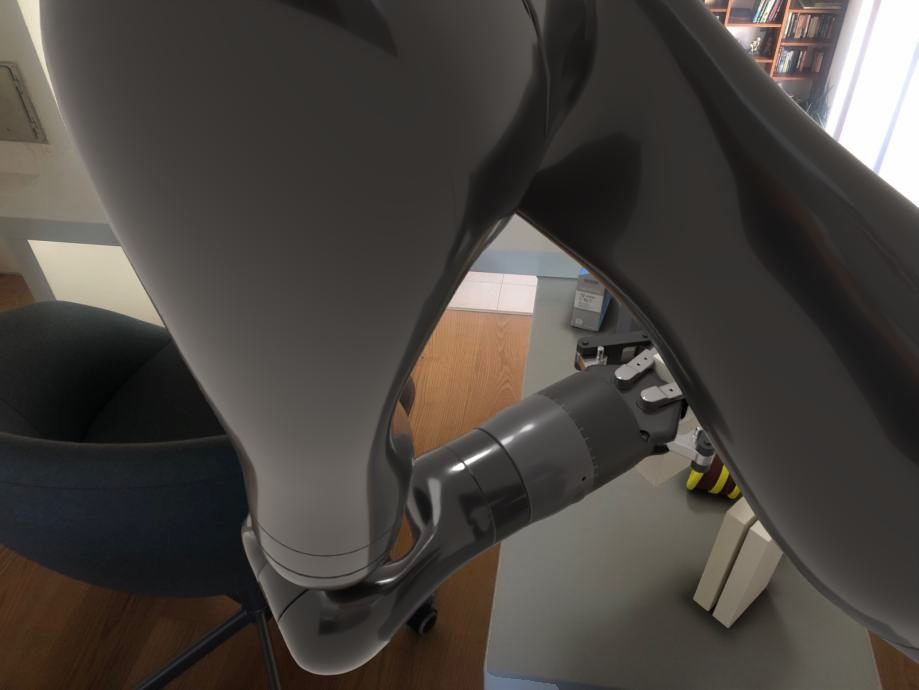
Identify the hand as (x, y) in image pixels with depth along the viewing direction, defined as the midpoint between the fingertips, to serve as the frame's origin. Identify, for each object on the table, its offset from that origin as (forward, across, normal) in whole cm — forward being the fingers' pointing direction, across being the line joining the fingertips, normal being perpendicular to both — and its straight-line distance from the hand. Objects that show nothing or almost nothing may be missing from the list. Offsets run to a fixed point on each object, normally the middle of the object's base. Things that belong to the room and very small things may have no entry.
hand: (727, 352), depth 53 cm
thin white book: (-3, 0, +10) cm, 10 cm away
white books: (-1, -8, +22) cm, 24 cm away
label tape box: (+16, +30, +22) cm, 41 cm away
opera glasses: (+8, +3, +22) cm, 24 cm away
